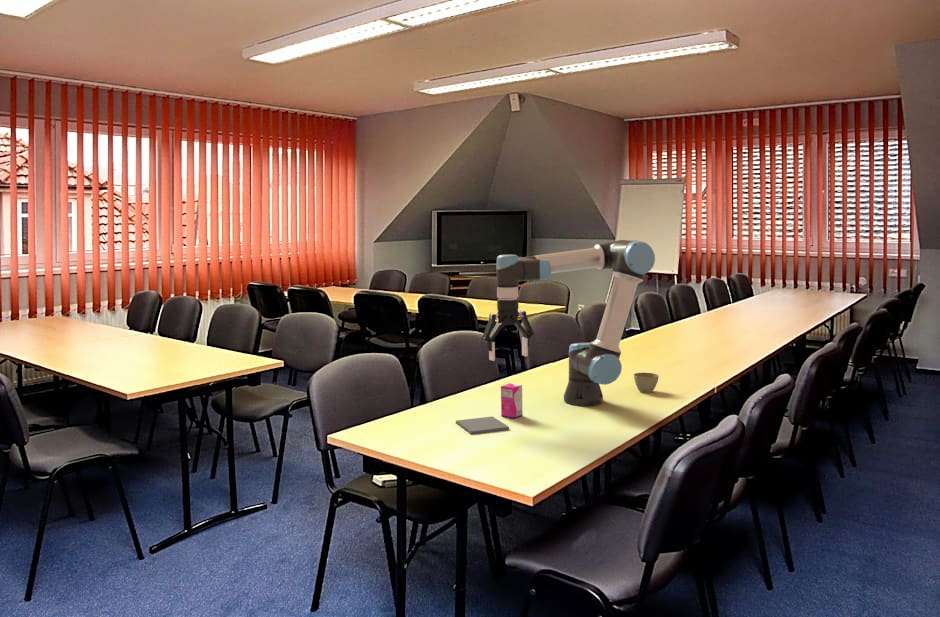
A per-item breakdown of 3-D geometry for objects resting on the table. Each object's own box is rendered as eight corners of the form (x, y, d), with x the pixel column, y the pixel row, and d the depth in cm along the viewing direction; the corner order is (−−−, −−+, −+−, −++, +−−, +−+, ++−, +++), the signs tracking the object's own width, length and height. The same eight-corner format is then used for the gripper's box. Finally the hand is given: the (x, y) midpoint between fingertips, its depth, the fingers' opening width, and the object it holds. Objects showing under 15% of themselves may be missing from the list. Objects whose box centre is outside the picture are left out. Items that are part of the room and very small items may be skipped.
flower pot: (661, 390, 304) (661, 373, 303) (653, 395, 296) (654, 378, 295) (638, 388, 310) (638, 371, 309) (629, 392, 301) (630, 375, 300)
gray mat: (492, 419, 263) (492, 416, 262) (509, 429, 250) (509, 426, 249) (455, 423, 257) (455, 420, 257) (470, 434, 244) (470, 431, 244)
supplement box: (509, 413, 270) (510, 382, 269) (523, 415, 267) (523, 385, 265) (500, 416, 266) (500, 385, 265) (513, 419, 262) (513, 387, 261)
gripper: (531, 295, 268) (532, 352, 271) (471, 300, 257) (472, 360, 260) (543, 297, 262) (543, 355, 265) (481, 302, 250) (483, 363, 253)
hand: (508, 358), depth 262 cm, fingers open, 13 cm apart
